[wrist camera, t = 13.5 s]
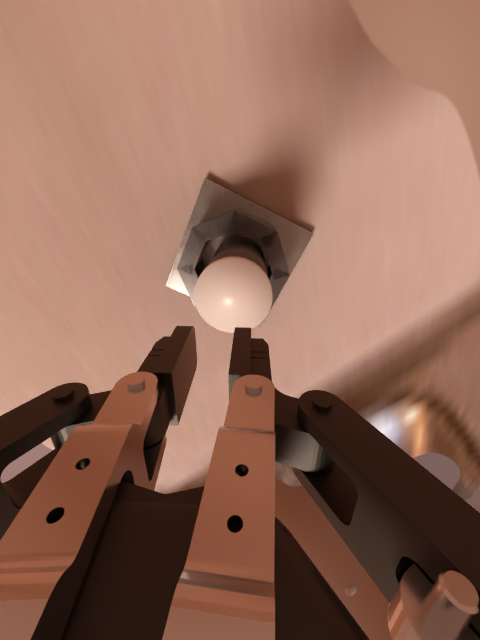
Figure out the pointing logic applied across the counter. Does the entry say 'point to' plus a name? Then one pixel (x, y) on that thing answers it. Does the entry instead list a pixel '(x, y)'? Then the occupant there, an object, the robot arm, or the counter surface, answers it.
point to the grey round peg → (234, 286)
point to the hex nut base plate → (232, 221)
